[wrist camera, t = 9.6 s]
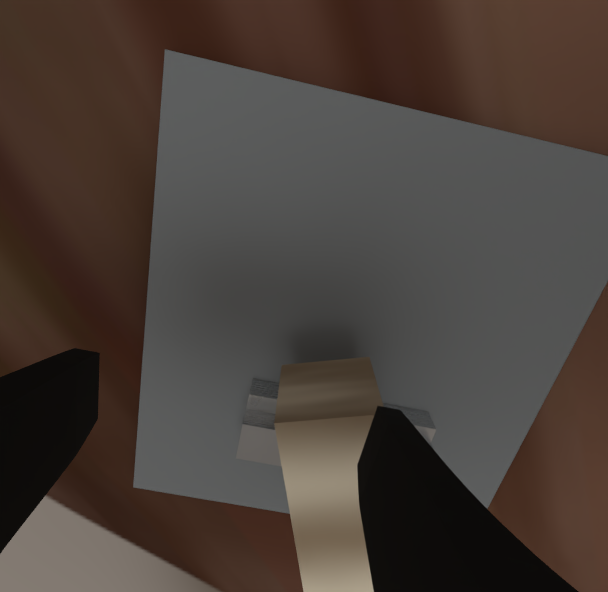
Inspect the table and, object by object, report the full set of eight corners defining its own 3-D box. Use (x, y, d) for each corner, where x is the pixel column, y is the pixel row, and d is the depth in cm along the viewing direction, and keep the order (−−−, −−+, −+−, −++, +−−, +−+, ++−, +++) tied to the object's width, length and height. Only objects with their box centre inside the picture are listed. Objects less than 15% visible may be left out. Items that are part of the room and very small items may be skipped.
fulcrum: (428, 411, 22) (443, 446, 19) (406, 465, 23) (418, 503, 21) (253, 377, 21) (245, 409, 19) (241, 435, 22) (233, 471, 20)
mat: (654, 169, 17) (666, 170, 17) (465, 535, 26) (468, 543, 25) (170, 52, 16) (165, 49, 16) (137, 479, 25) (133, 487, 24)
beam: (380, 542, 22) (395, 624, 18) (310, 547, 22) (310, 629, 18) (369, 356, 17) (385, 413, 14) (281, 364, 18) (274, 423, 14)
